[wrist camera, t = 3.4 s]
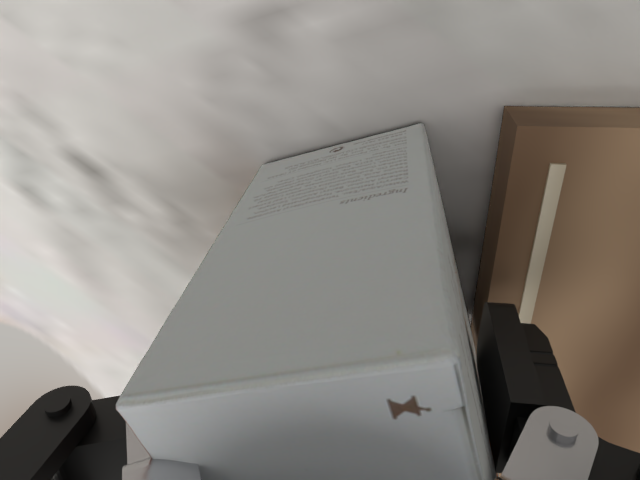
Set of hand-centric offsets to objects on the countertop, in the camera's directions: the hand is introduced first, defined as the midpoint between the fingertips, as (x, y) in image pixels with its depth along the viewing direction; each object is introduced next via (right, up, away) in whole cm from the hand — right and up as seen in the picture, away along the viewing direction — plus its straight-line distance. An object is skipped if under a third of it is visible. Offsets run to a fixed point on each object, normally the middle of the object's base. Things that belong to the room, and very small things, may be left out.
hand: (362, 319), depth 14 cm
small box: (+1, +2, +4) cm, 4 cm away
